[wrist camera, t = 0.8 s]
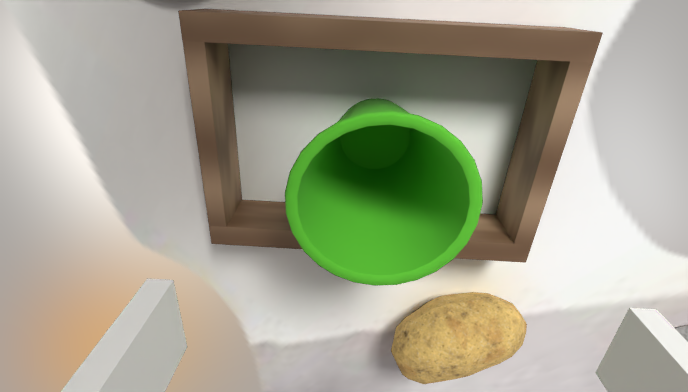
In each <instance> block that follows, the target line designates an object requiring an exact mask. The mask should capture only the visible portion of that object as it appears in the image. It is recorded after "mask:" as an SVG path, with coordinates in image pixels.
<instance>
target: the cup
mask: <svg viewBox="0 0 688 392" xmlns="http://www.w3.org/2000/svg"><path fill="white" fill-rule="evenodd" d="M482 203H483V198H482V180H481V178H480V175H479V172H478V169H477V166H476V163H475V160H474V159H473V157H472V156H471V154H470V153H469V152H468V150H467V149H466V147H465V146H464V145H463V143H462V142H461V141H460V140H459V139H458V138H456V137H455V136H454V135H453V134H452V133H450V132H449V131H448V130H447V129H445V128H444V127H443V126H441V125H439V124H437V123H435V122H432V121H430V120H428V119H425V118H423V117H421V116H419V115H414V114H410V113H408V112H407V111H406V110H404V109H403V108H401V107H400V106H398V105H397V104H395V103H393V102H391V101H388V100H384V99H379V98H376V99H367V100H364V101H361V102H359V103H357V104H355V105H354V106H352V107H351V108H350V109H349V110H348V111H347V112H346V113H345V114H344V115H343V116H342V117H341V119H340V120H339V121H338V122H337V123H335V124H334V125H332V126H330V127H329V128H327V129H326V130H324V131H322V132H321V133H319V134H318V135H317V136H316V137H315V138H314V139H313V140H312V141H311V142H310V143H309V144H308V145H307V146H306V147H305V148H304V149H303V150H302V151H301V153H300V154H299V156H298V158H297V160H296V162H295V163H294V165H293V167H292V169H291V171H290V174H289V178H288V182H287V186H286V190H285V205H286V215H287V218H288V221H289V225H290V228H291V231H292V233H293V235H294V236H295V238H296V239H297V241H298V243H299V244H300V246H301V247H302V249H303V250H304V252H305V253H306V254H307V255H308V256H310V257H311V258H312V259H313V260H314V261H315V262H316V263H317V264H318V265H319V266H321V267H322V268H324V269H326V270H327V271H329V272H331V273H332V274H334V275H336V276H338V277H341V278H344V279H347V280H350V281H352V282H356V283H362V284H369V285H397V284H401V283H406V282H410V281H414V280H418V279H420V278H422V277H425V276H427V275H429V274H431V273H434V272H436V271H437V270H439V269H440V268H441V267H443V266H444V265H446V264H447V263H448V262H450V261H451V260H453V259H454V258H455V257H456V255H457V254H458V253H459V252H460V251H461V250H462V249H463V248H464V246H465V245H466V244H467V243H468V241H469V239H470V237H471V235H472V233H473V232H474V230H475V228H476V226H477V224H478V220H479V216H480V212H481V207H482Z"/></svg>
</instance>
